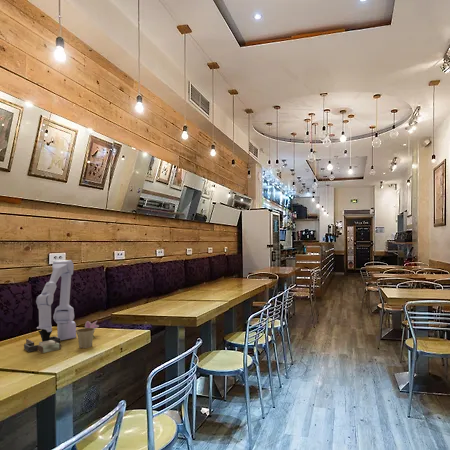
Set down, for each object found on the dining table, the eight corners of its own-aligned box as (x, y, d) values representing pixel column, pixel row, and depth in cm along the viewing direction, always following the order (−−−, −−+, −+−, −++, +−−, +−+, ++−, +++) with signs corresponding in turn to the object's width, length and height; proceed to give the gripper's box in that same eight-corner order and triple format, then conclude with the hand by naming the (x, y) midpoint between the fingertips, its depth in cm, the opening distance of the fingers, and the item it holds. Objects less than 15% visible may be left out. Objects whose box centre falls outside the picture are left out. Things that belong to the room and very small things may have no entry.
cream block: (51, 347, 197) (51, 339, 197) (55, 349, 193) (55, 341, 193) (39, 350, 193) (39, 342, 194) (42, 352, 189) (42, 344, 189)
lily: (103, 335, 223) (96, 321, 225) (104, 331, 213) (97, 316, 215) (82, 345, 217) (76, 330, 219) (83, 341, 207) (76, 325, 209)
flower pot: (99, 345, 198) (99, 328, 198) (85, 350, 189) (85, 332, 190) (85, 343, 202) (85, 327, 202) (71, 348, 193) (71, 331, 194)
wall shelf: (51, 338, 216) (51, 333, 216) (68, 347, 196) (68, 341, 196) (18, 345, 204) (18, 339, 204) (33, 354, 184) (33, 348, 184)
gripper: (32, 317, 200) (33, 343, 199) (41, 320, 189) (41, 348, 189) (46, 314, 205) (47, 340, 204) (55, 318, 194) (56, 345, 193)
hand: (45, 344), depth 197 cm, fingers closed
